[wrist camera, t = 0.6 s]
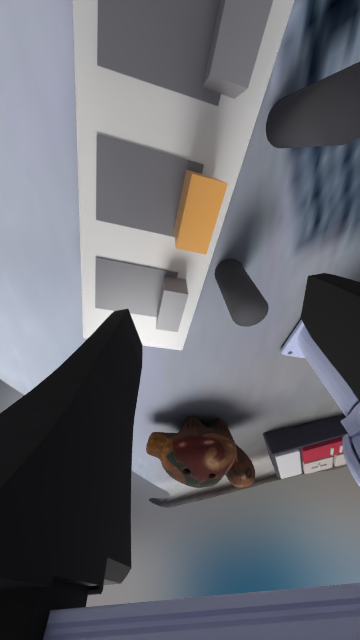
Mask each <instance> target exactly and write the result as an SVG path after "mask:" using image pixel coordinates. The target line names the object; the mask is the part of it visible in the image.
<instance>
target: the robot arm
mask: <svg viewBox="0 0 360 640" xmlns="http://www.w3.org/2000/svg"><path fill="white" fill-rule="evenodd" d="M281 353H282V355H286V356H294V357H301V358H306V359H307V361H308V362H309V364H310V365H311V367H312V368H313V370H314V371H315V372H316V374H317V375H318V377H319V378H320V380H321V381H322V383H323V384H324V386H325V387H326V388H327V390H328V391H329V393H330V394H331V396H332V397H333V399H334V400H335V401H336V403H337V404H338V406H339V407H340V409H341V410H342V412H343V413H344V415H345V416H346V418H344V419H343V420H341V423H342V425H343V426H344V428H345V429H346V431H347V432H348V434H346V435H344V436H343V439H342V444H343V454H344V458H345V461H346V463H347V465H348V467H349V469H350V471H351V473H352V475H353V476H354V478H355V480H356V482H357V483H358V485H359V486H360V282H357V281H354V280H350V279H347V278H343V277H340V276H336V275H332V274H326V273H322V274H317V275H311V276H308V280H307V285H306V291H305V296H304V302H303V308H302V313H301V321H300V322H299V324H298V325H297V327H296V328H295V330H294V331H293V333H292V334H291V335H290V337H289V338H288V340H287V341H286V343H285V344H284V346H283V347H282V349H281ZM141 370H142V343H141V340H140V338H139V335H138V332H137V330H136V327H135V325H134V322H133V319H132V317H131V314H130V312H129V309H123V310H118V311H114V312H113V313H112V314H111V315H109V317H108V318H107V319H106V320H105V321H104V322H103V323H102V324H101V325H100V326H99V327H98V328H97V329H96V330H95V332H94V333H93V334H92V335H91V336H90V337H89V338H88V339H87V340H86V341H85V342H84V343H83V344H82V345H81V346H80V347H79V348H78V349H77V350H76V351H75V352H74V353H73V354H72V355H71V356H70V357H69V358H68V359H67V360H66V361H65V362H64V363H63V364H62V365H61V366H60V367H59V368H57V369H56V370H55V371H54V372H53V373H52V374H51V375H49V376H48V377H47V378H46V379H45V380H43V381H42V382H41V383H40V384H39V385H37V386H36V387H35V388H34V389H32V390H31V391H30V392H29V393H27V394H26V395H25V396H23V397H22V398H21V399H19V400H18V401H16V402H15V403H14V404H12V405H11V406H10V407H8V408H7V409H6V410H4V411H3V412H2V413H0V640H360V583H353V584H341V585H330V586H320V587H308V588H297V589H285V590H275V591H263V592H251V593H240V594H229V595H218V596H207V597H195V598H184V599H173V600H162V601H151V602H139V603H128V604H118V605H105V606H94V607H86V601H87V596H88V595H96V594H101V593H102V590H103V585H109V584H120V583H121V582H122V581H123V580H124V579H125V577H126V576H127V575H128V573H129V571H130V569H131V465H132V441H133V425H134V416H135V409H136V403H137V396H138V390H139V383H140V377H141Z"/></svg>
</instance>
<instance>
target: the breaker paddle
mask: <svg viewBox="0 0 360 640" xmlns="http://www.w3.org/2000/svg"><path fill="white" fill-rule="evenodd" d="M227 185H228V183H226V182H223V181H221V180H219V179H217V178H215V177H212V176H208V175H204V174H201V173H197V172H193V171H190V170H186V173H185V178H184V183H183V187H182V192H181V197H180V202H179V207H178V212H177V217H176V222H175V227H174V238H175V246H176V249H181V250H186V251H191V252H195V253H200V254H205V255H206V254H207V251H208V247H209V244H210V241H211V238H212V234H213V231H214V228H215V224H216V221H217V218H218V215H219V211H220V208H221V205H222V202H223V198H224V195H225V192H226V188H227Z"/></svg>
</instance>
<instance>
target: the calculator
mask: <svg viewBox="0 0 360 640" xmlns="http://www.w3.org/2000/svg"><path fill="white" fill-rule="evenodd" d="M344 418H346V416H345V415H341V416H336V417H332V418H327V419H323V420H319V421H315V422H311V423H308V424H304V425H301V426H297V427H294V428H290V427H288V428H283V429H279V430H274V431H270V432H265V433H263V436H264V439H265V443H266V446H267V449H268V453H269V456H270V459H271V461H272V464H273V466H274V469H275V471H276V474H277V476H278V477H279V478H280V477H281V478H282V479H283V478H287V477H291V476H295V475H299V474H301V473H302V472H304V473H305V474H308V473H312V472H316V471H320V470H324V469H328V468H331V467H332V464H334V465H335V466H339V465H343V464H347V463H346V461H345V458H344V454H343V444H342V439H343V436H344V435H346V434H348V432H347V431H346V429H345V428H344V426H343V425H342V423H341V420H343V419H344Z"/></svg>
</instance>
